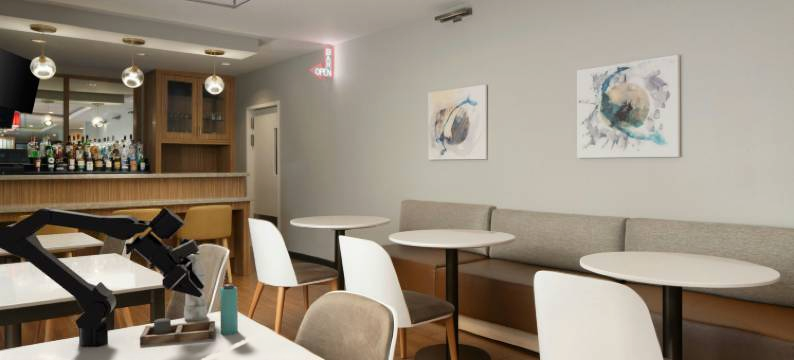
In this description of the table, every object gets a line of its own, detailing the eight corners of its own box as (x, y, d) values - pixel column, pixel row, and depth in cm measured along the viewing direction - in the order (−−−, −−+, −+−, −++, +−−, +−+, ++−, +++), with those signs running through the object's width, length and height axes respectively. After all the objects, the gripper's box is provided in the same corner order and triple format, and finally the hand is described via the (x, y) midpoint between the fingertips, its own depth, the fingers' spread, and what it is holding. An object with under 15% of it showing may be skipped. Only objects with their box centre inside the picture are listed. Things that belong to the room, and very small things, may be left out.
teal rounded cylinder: (217, 337, 150) (216, 286, 149) (228, 332, 154) (227, 282, 154) (230, 339, 148) (229, 287, 148) (241, 334, 152) (240, 284, 152)
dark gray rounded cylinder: (150, 338, 145) (150, 321, 145) (162, 334, 149) (162, 317, 149) (161, 340, 144) (161, 323, 144) (174, 336, 147) (173, 319, 147)
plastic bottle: (192, 326, 160) (191, 256, 159) (179, 321, 164) (178, 253, 163) (212, 320, 165) (211, 253, 164) (198, 316, 169) (197, 250, 168)
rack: (140, 349, 141) (139, 337, 141) (145, 337, 150) (145, 326, 150) (213, 342, 146) (213, 331, 145) (215, 331, 155) (214, 320, 154)
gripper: (175, 234, 138) (223, 276, 141) (182, 225, 156) (224, 262, 159) (141, 268, 136) (190, 309, 139) (152, 255, 154) (195, 292, 157)
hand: (202, 291), depth 149 cm, fingers open, 9 cm apart
